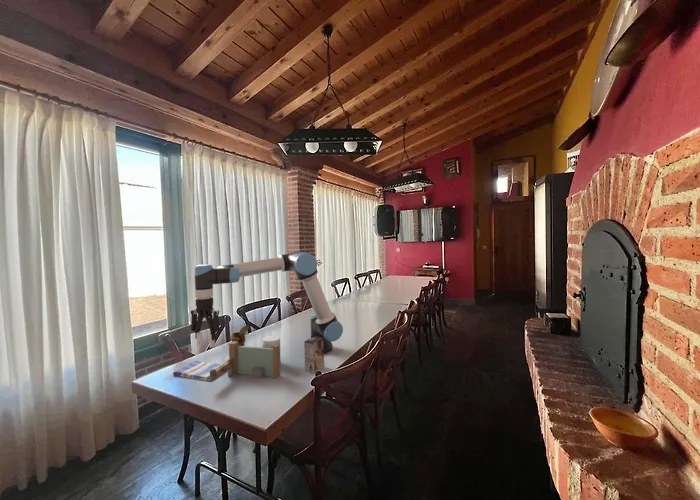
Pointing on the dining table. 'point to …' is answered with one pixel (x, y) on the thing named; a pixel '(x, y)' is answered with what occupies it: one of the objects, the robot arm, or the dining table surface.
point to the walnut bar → (221, 369)
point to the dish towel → (197, 370)
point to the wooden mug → (240, 336)
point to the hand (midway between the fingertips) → (205, 346)
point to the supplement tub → (270, 341)
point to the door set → (254, 361)
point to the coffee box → (314, 354)
